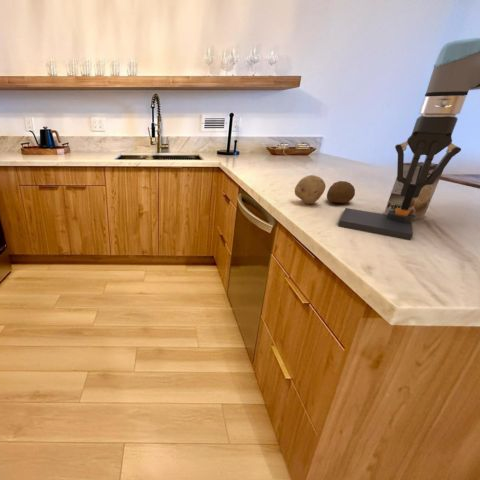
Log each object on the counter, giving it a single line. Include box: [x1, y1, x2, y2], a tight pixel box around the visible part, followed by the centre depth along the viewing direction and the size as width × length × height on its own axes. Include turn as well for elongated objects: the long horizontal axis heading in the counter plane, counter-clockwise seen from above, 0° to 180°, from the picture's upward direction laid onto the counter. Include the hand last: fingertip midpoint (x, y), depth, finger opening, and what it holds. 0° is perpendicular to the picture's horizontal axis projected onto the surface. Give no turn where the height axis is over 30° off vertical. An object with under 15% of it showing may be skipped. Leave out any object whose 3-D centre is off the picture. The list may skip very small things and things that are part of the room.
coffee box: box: [383, 161, 445, 221], centre depth 85 cm, size 9×6×16 cm
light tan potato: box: [294, 174, 326, 205], centre depth 98 cm, size 9×9×10 cm
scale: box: [337, 207, 415, 241], centre depth 81 cm, size 16×14×4 cm
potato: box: [326, 180, 356, 204], centre depth 100 cm, size 8×12×8 cm, turn 139°
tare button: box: [395, 208, 410, 216], centre depth 80 cm, size 3×3×2 cm
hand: (404, 208), depth 80 cm, fingers closed
